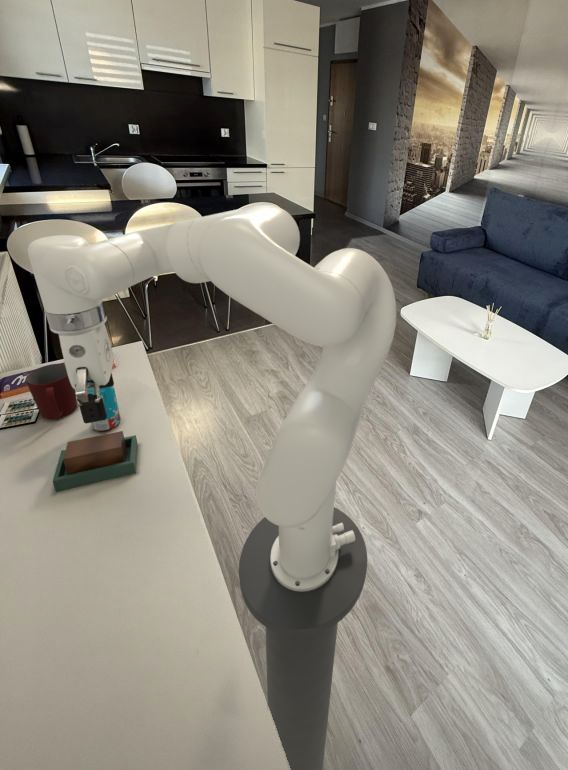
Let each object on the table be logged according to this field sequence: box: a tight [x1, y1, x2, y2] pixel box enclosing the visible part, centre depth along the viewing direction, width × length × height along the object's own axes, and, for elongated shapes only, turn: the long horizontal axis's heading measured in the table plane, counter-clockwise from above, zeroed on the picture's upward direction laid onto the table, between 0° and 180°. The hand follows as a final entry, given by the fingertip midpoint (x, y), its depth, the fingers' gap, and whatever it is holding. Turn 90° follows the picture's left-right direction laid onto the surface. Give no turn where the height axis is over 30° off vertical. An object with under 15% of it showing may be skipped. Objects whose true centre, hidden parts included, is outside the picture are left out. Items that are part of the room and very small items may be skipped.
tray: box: [51, 434, 139, 493], centre depth 85 cm, size 14×9×3 cm, turn 114°
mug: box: [25, 363, 78, 421], centre depth 97 cm, size 12×9×11 cm
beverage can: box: [88, 380, 121, 433], centre depth 94 cm, size 6×6×15 cm
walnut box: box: [63, 430, 127, 475], centre depth 84 cm, size 10×5×6 cm, turn 114°
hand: (100, 402), depth 69 cm, fingers open, 9 cm apart
